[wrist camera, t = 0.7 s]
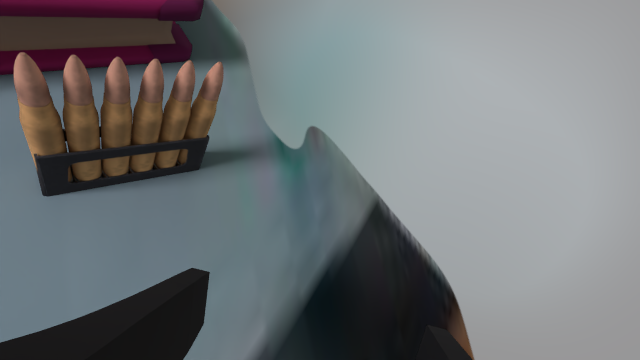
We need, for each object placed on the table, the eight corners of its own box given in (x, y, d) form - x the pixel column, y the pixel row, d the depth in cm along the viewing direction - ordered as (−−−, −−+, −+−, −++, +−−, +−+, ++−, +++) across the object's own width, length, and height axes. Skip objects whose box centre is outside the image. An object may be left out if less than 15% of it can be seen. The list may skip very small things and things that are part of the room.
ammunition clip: (43, 197, 21) (-6, 69, 12) (37, 173, 21) (-14, 34, 13) (199, 169, 28) (240, 74, 19) (192, 152, 28) (229, 51, 19)
